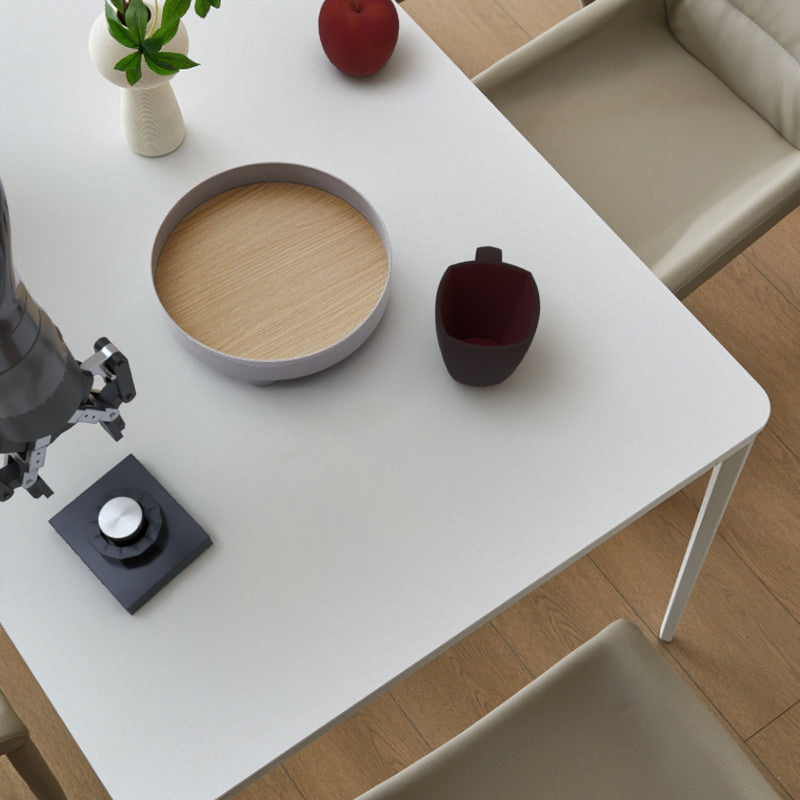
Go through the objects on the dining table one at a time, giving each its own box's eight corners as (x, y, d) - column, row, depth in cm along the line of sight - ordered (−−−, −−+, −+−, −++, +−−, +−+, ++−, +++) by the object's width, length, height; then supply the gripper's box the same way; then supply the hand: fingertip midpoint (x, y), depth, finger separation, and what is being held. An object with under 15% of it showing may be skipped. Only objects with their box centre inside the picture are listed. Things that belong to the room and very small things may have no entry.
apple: (410, 47, 125) (412, -18, 116) (380, 103, 121) (380, 40, 112) (339, 25, 127) (336, -41, 118) (308, 79, 123) (301, 16, 114)
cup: (427, 400, 105) (431, 345, 94) (436, 286, 111) (441, 221, 100) (523, 408, 104) (539, 354, 94) (527, 293, 110) (542, 229, 100)
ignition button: (94, 523, 95) (89, 516, 93) (128, 495, 96) (123, 488, 94) (121, 553, 94) (116, 546, 92) (155, 524, 95) (151, 517, 93)
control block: (54, 528, 98) (41, 514, 95) (135, 460, 102) (126, 445, 98) (131, 615, 95) (121, 605, 91) (213, 543, 98) (207, 530, 94)
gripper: (62, 261, 69) (121, 373, 84) (-123, 396, 64) (-25, 488, 79) (132, 330, 66) (179, 432, 82) (-55, 475, 62) (32, 554, 77)
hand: (78, 459), depth 80 cm, fingers open, 6 cm apart
